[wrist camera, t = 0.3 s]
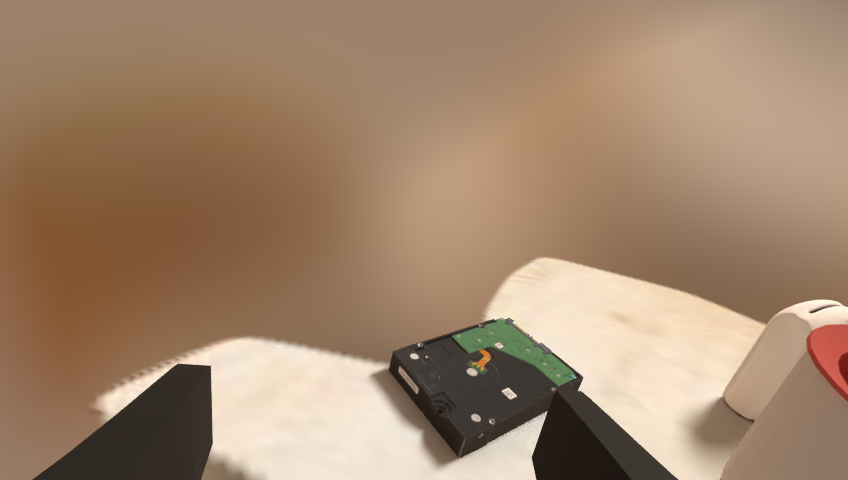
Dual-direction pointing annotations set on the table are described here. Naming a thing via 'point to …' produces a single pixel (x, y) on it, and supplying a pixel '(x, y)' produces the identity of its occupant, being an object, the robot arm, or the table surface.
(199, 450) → the robot arm
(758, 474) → the citrus juicer
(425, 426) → the table surface
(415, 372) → the disk drive
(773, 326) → the photo printer
